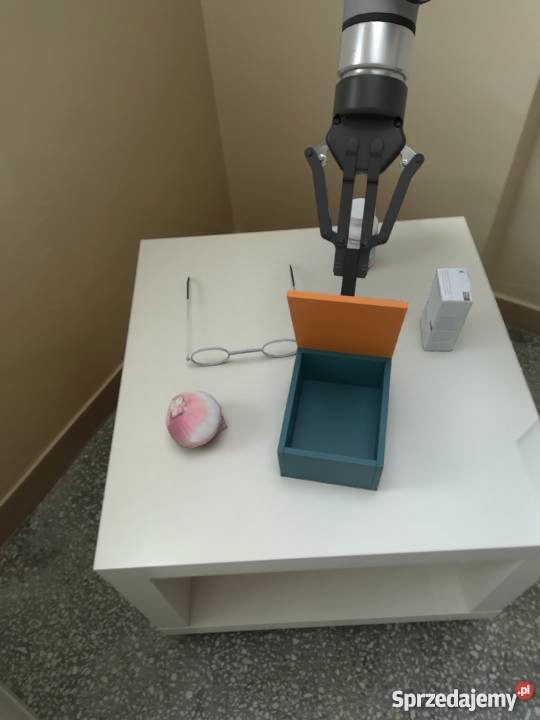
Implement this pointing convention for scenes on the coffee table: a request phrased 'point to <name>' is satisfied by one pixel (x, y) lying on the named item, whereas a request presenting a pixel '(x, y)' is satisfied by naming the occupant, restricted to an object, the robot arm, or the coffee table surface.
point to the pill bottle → (360, 227)
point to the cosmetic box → (446, 309)
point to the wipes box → (336, 419)
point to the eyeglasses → (240, 350)
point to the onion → (194, 418)
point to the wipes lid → (346, 323)
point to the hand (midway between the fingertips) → (346, 306)
